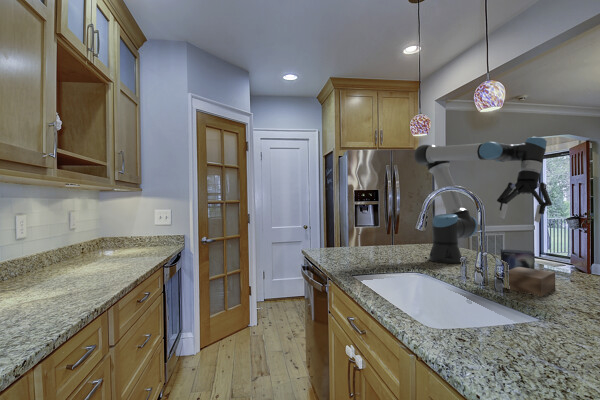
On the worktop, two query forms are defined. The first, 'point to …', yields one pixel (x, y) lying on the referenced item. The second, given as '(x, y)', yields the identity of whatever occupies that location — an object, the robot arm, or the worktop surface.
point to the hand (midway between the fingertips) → (518, 219)
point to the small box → (518, 258)
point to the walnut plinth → (531, 280)
